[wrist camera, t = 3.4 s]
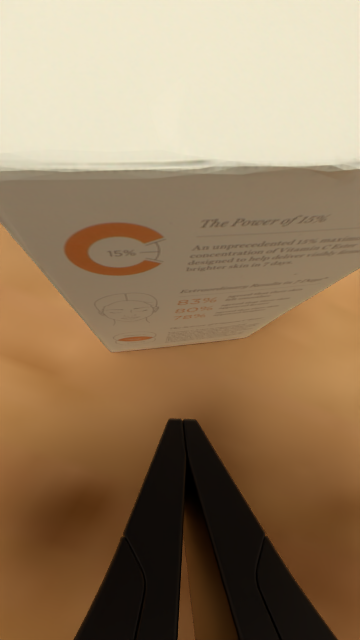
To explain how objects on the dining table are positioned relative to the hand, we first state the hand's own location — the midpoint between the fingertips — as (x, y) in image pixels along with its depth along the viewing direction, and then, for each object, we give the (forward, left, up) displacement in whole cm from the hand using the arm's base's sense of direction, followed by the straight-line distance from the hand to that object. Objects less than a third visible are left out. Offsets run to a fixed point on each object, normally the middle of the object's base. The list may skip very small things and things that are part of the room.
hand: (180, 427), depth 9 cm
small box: (+6, -2, -7) cm, 10 cm away
